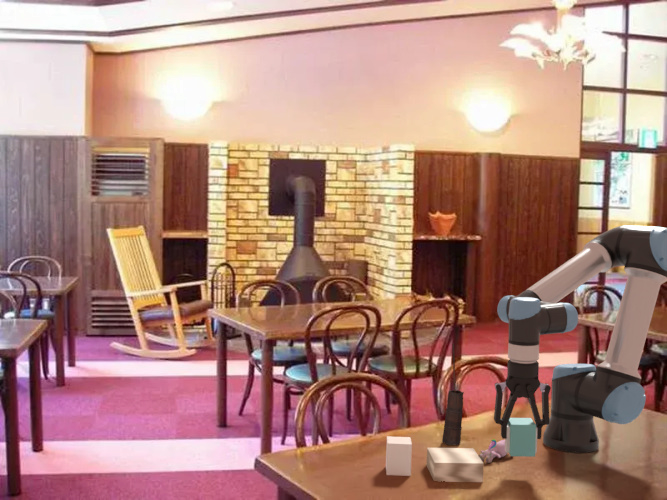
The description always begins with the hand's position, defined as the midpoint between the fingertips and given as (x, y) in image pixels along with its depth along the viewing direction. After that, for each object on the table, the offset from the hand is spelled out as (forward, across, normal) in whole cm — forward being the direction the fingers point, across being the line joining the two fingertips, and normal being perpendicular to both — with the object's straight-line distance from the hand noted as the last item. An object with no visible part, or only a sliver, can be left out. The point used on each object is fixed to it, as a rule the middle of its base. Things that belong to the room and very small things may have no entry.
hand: (520, 451), depth 208 cm
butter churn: (+6, +14, -25) cm, 29 cm away
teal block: (0, 0, 0) cm, 0 cm away
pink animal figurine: (+7, +4, -14) cm, 16 cm away
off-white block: (+6, +30, 0) cm, 31 cm away
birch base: (+6, +17, 0) cm, 18 cm away
